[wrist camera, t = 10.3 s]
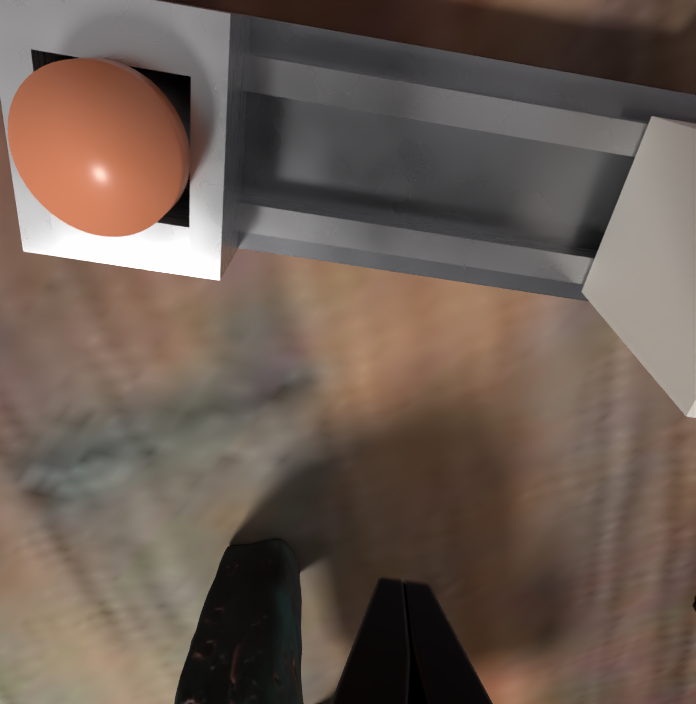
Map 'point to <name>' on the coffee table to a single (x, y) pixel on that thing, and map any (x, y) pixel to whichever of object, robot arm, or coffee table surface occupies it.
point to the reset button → (102, 143)
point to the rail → (351, 147)
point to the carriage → (654, 260)
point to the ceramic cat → (248, 631)
